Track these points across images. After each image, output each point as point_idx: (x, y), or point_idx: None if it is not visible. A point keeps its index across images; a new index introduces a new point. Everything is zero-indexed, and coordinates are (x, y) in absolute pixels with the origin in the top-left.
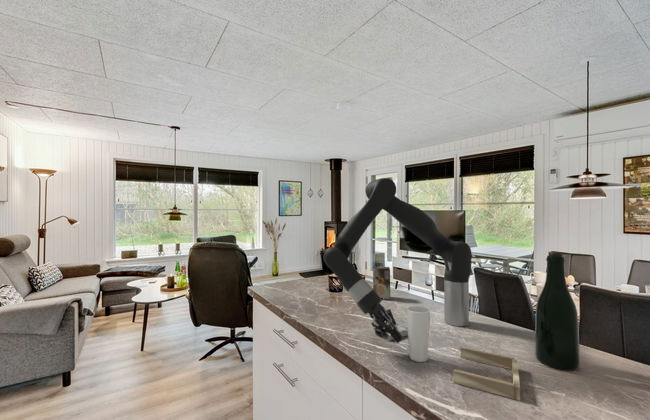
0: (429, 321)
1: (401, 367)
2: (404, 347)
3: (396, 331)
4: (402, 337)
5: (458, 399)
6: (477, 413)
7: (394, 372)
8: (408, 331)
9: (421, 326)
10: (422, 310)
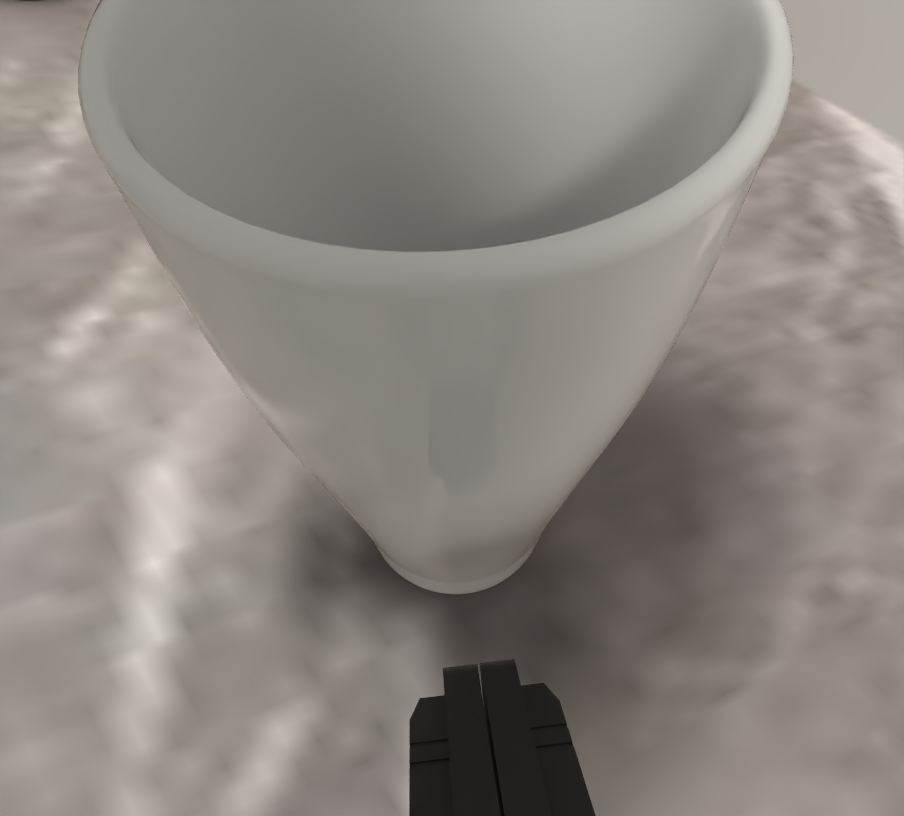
0: (439, 79)
1: (727, 576)
2: (264, 747)
3: (522, 768)
4: (465, 667)
5: (787, 175)
6: (823, 104)
7: (863, 591)
8: (581, 478)
9: (610, 187)
10: (164, 96)
